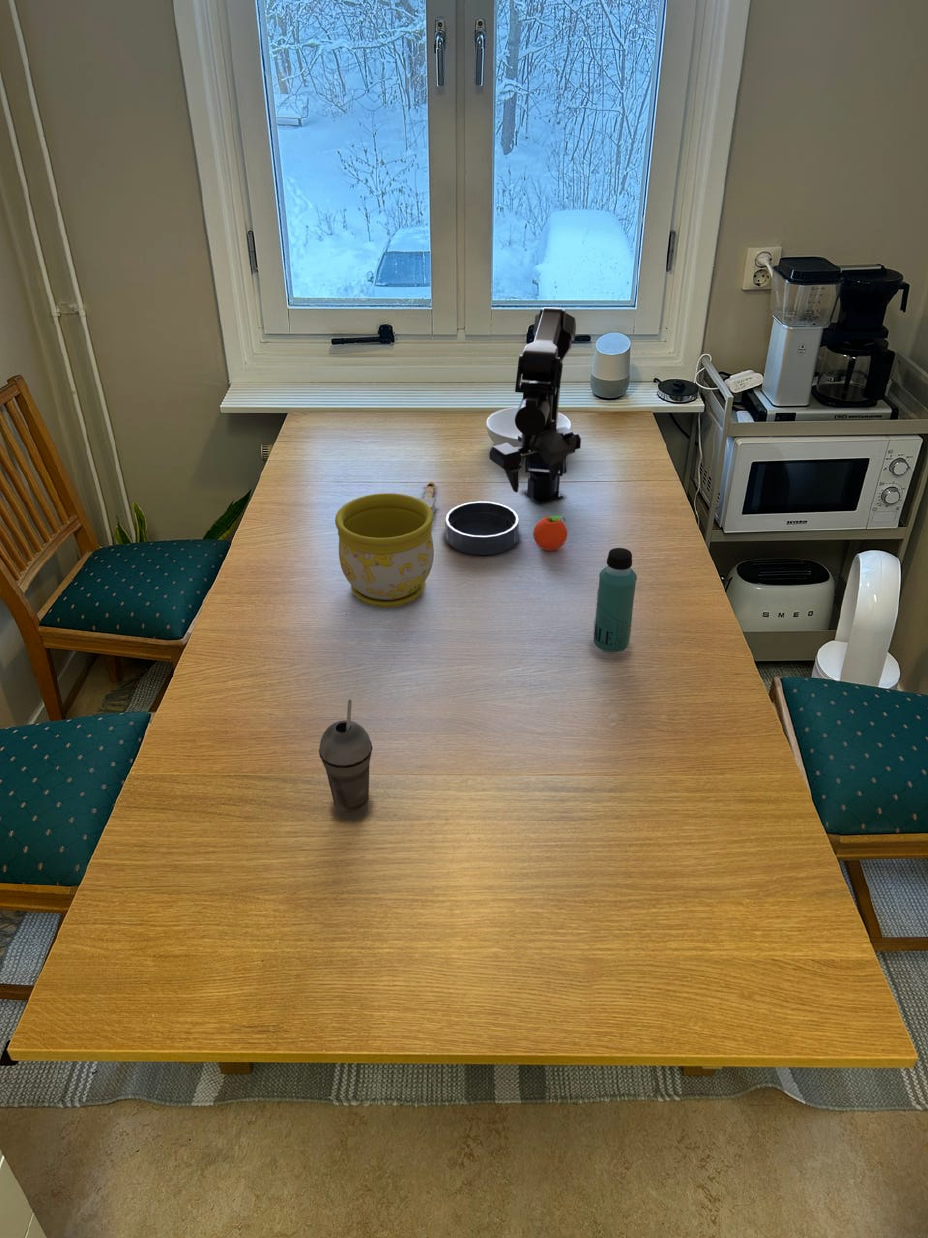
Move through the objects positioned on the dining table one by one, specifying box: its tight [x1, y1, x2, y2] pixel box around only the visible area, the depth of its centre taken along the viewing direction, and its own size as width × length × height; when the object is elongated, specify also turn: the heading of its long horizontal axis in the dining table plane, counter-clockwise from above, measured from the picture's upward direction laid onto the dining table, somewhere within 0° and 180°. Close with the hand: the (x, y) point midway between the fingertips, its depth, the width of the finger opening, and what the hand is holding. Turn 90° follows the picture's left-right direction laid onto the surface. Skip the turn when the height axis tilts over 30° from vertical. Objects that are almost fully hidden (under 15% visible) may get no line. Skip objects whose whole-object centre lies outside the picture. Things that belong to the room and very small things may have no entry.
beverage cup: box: [318, 699, 373, 821], centre depth 126 cm, size 7×7×20 cm
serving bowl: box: [485, 406, 572, 447], centre depth 229 cm, size 21×21×7 cm
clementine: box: [533, 515, 568, 552], centre depth 189 cm, size 8×7×7 cm
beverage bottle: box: [592, 547, 638, 654], centre depth 156 cm, size 6×7×20 cm
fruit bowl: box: [444, 500, 520, 556], centre depth 193 cm, size 15×15×4 cm
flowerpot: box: [334, 492, 435, 609], centre depth 173 cm, size 18×18×16 cm
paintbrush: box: [417, 481, 436, 514], centre depth 204 cm, size 4×3×20 cm
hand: (534, 485), depth 188 cm, fingers open, 9 cm apart
